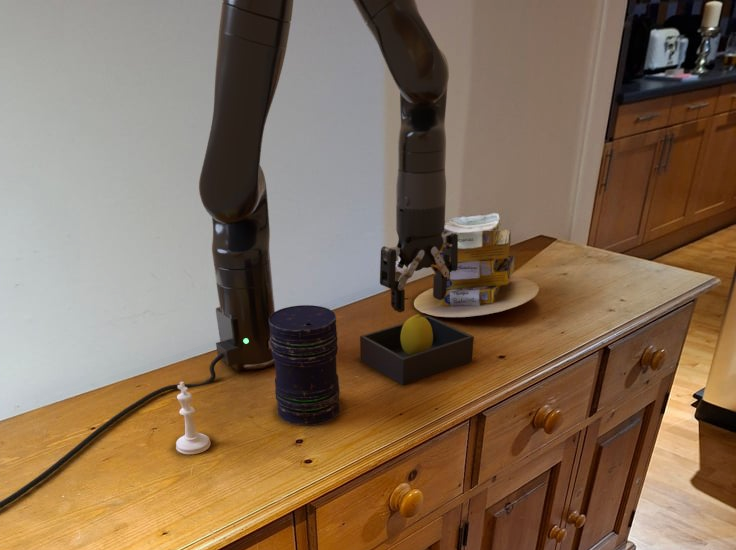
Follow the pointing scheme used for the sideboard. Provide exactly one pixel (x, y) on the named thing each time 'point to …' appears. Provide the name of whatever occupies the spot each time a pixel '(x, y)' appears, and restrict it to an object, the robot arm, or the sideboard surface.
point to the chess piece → (190, 427)
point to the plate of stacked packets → (479, 272)
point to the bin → (395, 363)
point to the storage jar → (305, 364)
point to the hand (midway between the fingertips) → (418, 304)
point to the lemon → (416, 335)
